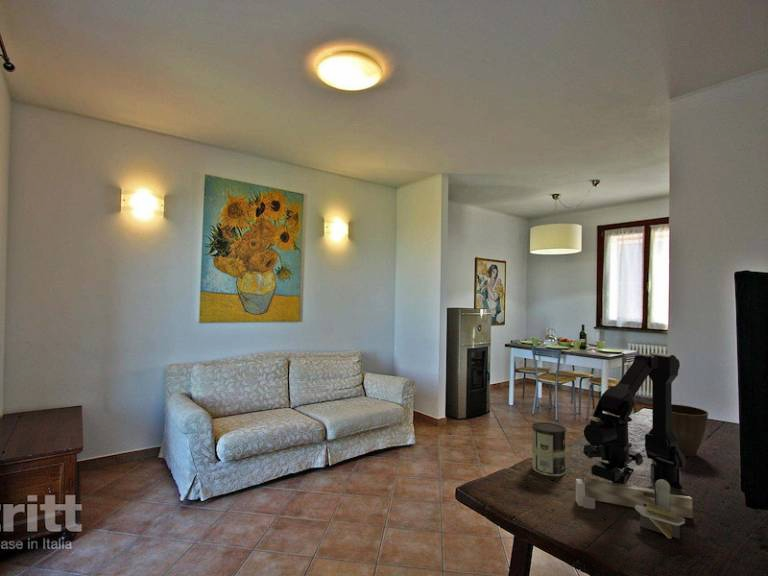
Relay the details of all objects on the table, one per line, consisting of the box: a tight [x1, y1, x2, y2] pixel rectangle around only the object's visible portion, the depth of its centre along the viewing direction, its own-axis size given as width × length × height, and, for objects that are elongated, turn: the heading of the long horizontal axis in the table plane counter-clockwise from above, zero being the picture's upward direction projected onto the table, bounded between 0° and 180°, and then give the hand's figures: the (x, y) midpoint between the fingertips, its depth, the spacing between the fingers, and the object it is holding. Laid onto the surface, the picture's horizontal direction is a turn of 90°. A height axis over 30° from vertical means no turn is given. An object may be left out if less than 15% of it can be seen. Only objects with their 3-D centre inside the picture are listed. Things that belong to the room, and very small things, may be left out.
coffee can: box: [531, 421, 567, 477], centre depth 132 cm, size 10×10×14 cm
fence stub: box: [670, 493, 694, 519], centre depth 104 cm, size 5×1×5 cm, turn 76°
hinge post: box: [655, 479, 671, 509], centre depth 105 cm, size 3×3×9 cm
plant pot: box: [672, 404, 709, 457], centre depth 148 cm, size 15×15×16 cm
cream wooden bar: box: [583, 477, 656, 510], centre depth 109 cm, size 17×2×5 cm, turn 66°
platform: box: [634, 503, 686, 540], centre depth 96 cm, size 12×18×7 cm, turn 51°
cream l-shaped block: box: [575, 478, 596, 510], centre depth 109 cm, size 4×4×6 cm
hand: (618, 494), depth 113 cm, fingers closed
